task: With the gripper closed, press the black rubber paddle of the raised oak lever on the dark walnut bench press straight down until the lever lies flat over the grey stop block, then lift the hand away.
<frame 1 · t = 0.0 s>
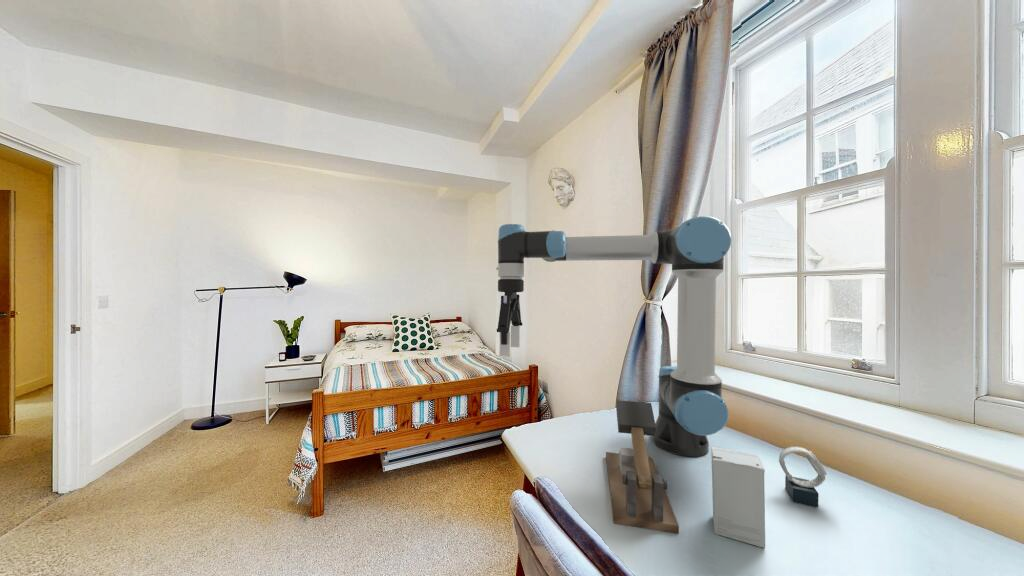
hand: (510, 351, 97), 28 cm above the table, tool pointing down, fingers open, 13 cm apart
lever: (638, 442, 74), point 12 cm above the table, hinge at -30.0°
watch: (801, 498, 75), on the table
press base: (635, 488, 78), on the table
skincare box: (736, 533, 64), on the table
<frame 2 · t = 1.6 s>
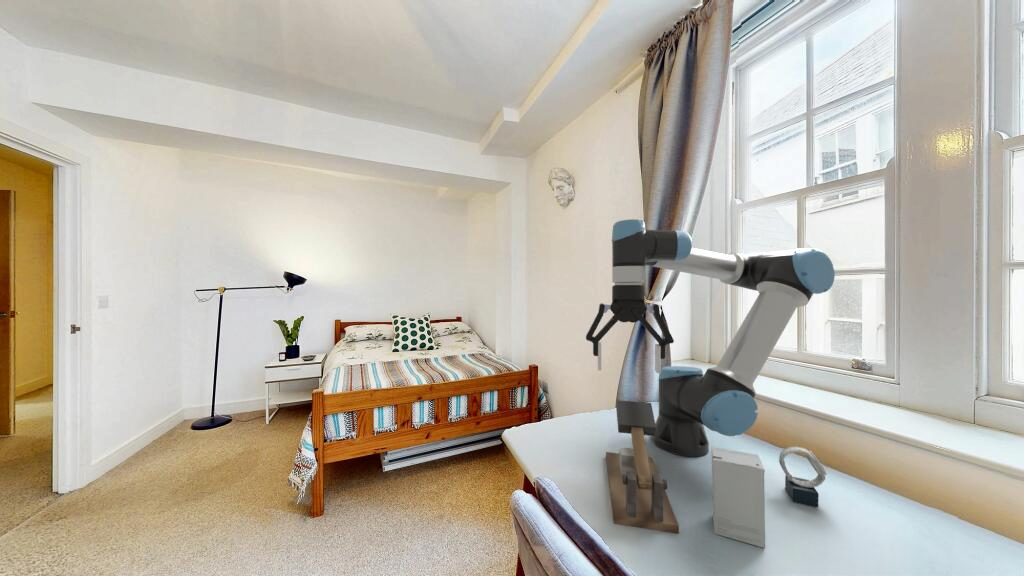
hand: (628, 370, 82), 27 cm above the table, tool pointing down, fingers open, 13 cm apart
nothing on the table moved.
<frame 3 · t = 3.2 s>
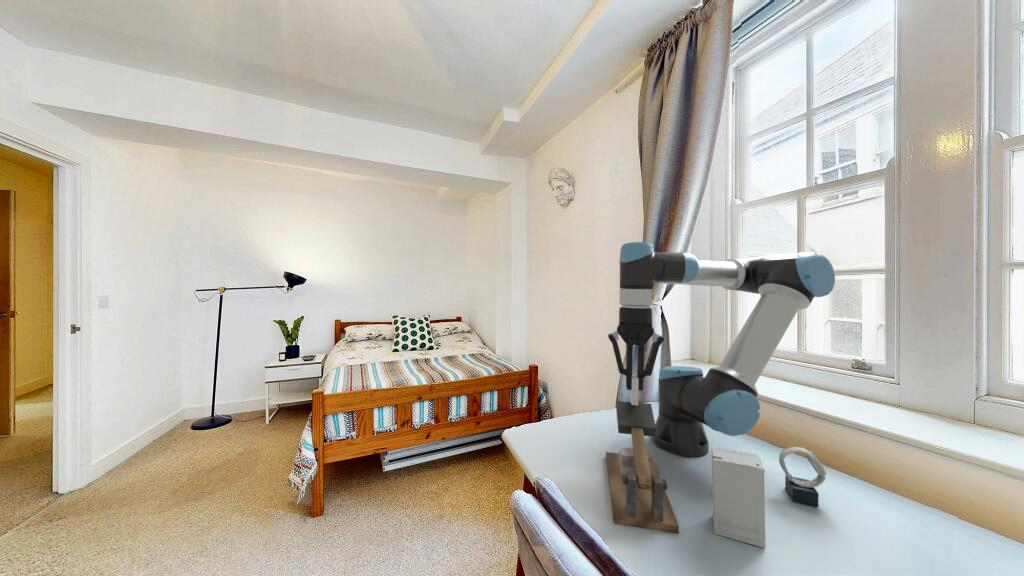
hand: (634, 403, 81), 19 cm above the table, tool pointing down, fingers closed
lever: (638, 442, 74), point 12 cm above the table, hinge at -29.1°, touching gripper
everything else where it was.
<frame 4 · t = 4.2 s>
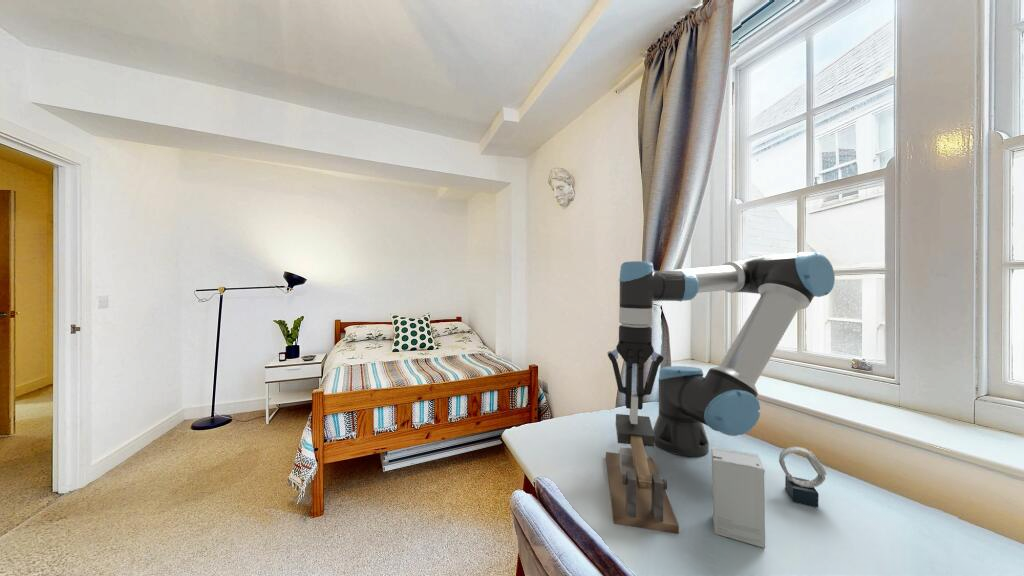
hand: (633, 421, 81), 14 cm above the table, tool pointing down, fingers closed
lever: (637, 449, 75), point 10 cm above the table, hinge at -15.6°, touching gripper
everything else where it was.
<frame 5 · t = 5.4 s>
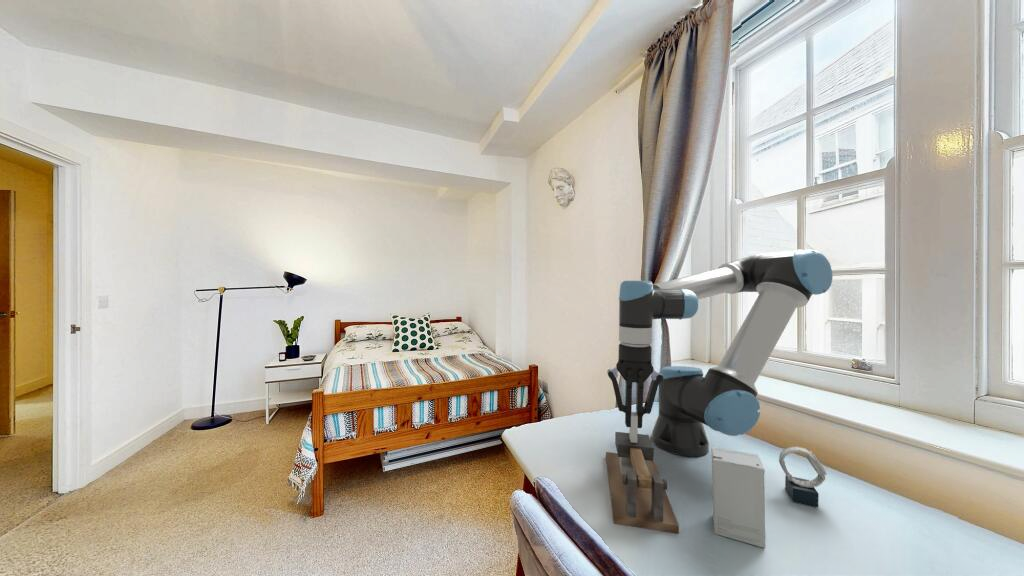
hand: (633, 440, 81), 10 cm above the table, tool pointing down, fingers closed
lever: (637, 459, 76), point 8 cm above the table, hinge at 0.1°, touching gripper
everything else where it was.
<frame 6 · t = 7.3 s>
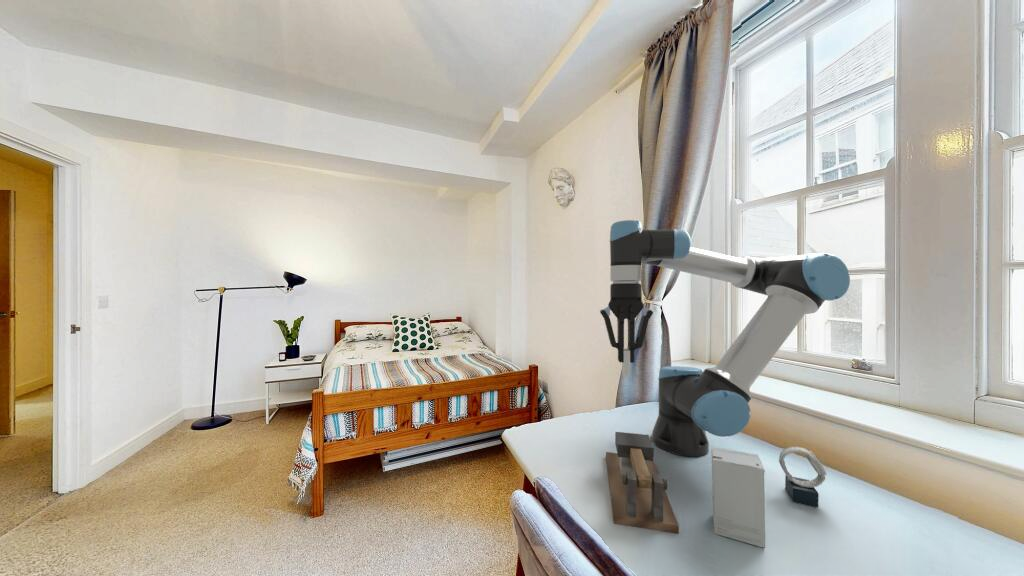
hand: (626, 374, 85), 25 cm above the table, tool pointing down, fingers closed
lever: (637, 459, 76), point 8 cm above the table, hinge at 0.1°
everything else where it was.
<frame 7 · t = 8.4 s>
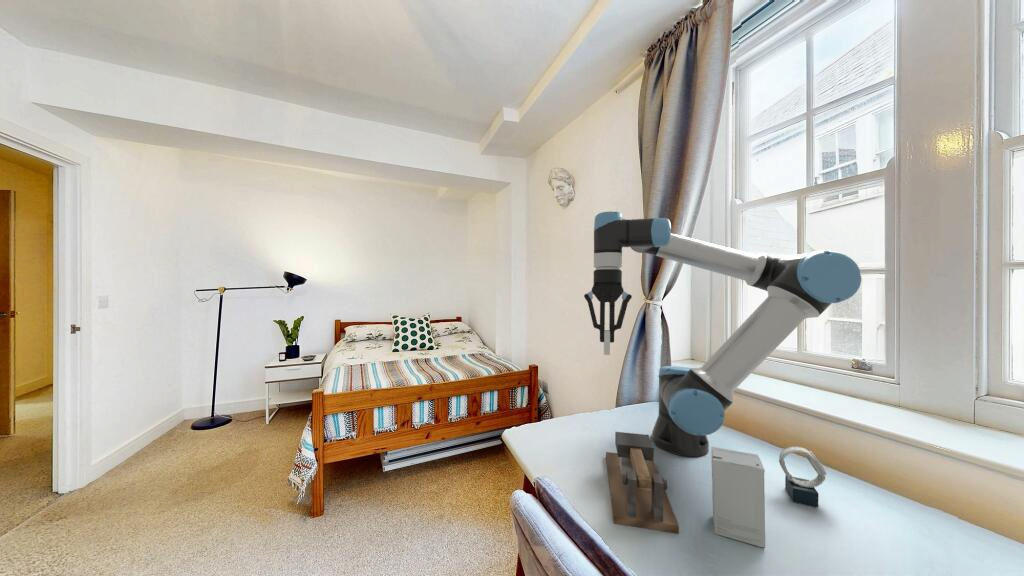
hand: (606, 353, 92), 28 cm above the table, tool pointing down, fingers closed
nothing on the table moved.
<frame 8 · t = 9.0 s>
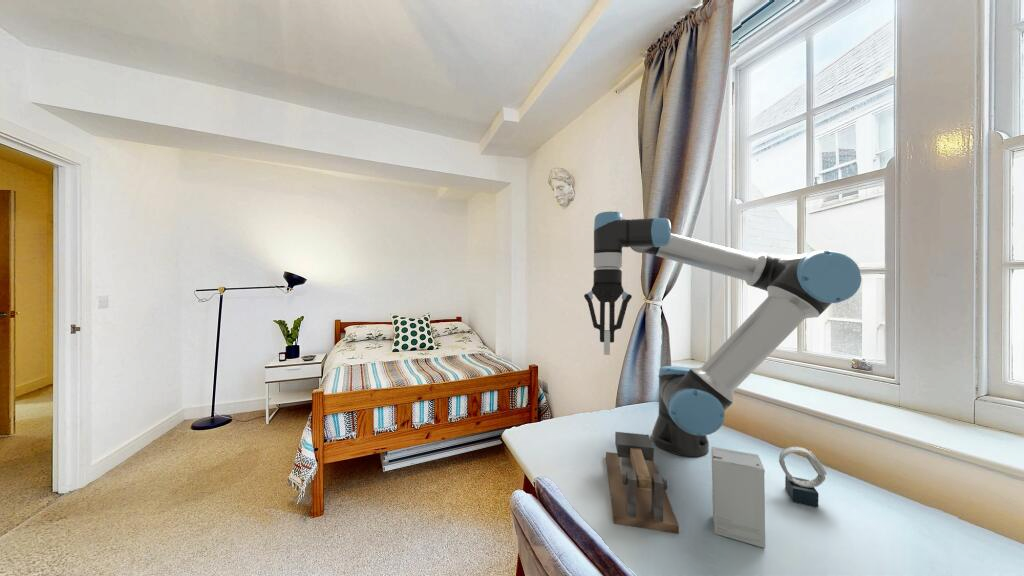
hand: (606, 353, 92), 28 cm above the table, tool pointing down, fingers closed
nothing on the table moved.
at the end: lever at +0° (first picture: -30°); skincare box moved 0.2 cm from its start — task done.
